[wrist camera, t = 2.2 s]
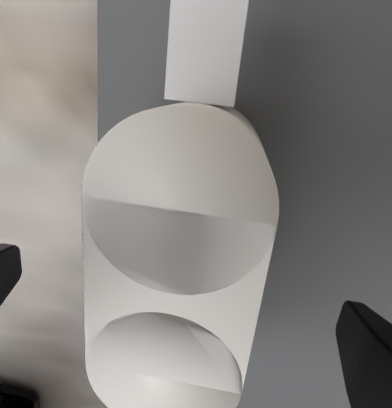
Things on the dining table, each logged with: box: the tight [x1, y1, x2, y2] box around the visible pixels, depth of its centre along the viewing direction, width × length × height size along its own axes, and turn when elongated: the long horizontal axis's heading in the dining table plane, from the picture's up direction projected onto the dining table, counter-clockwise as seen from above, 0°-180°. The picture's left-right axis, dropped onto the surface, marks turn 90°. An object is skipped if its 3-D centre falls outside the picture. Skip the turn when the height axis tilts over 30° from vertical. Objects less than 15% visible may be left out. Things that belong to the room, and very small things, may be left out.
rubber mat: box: [98, 0, 392, 408], centre depth 12 cm, size 24×20×1 cm
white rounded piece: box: [81, 0, 279, 408], centre depth 10 cm, size 12×4×5 cm, turn 174°
